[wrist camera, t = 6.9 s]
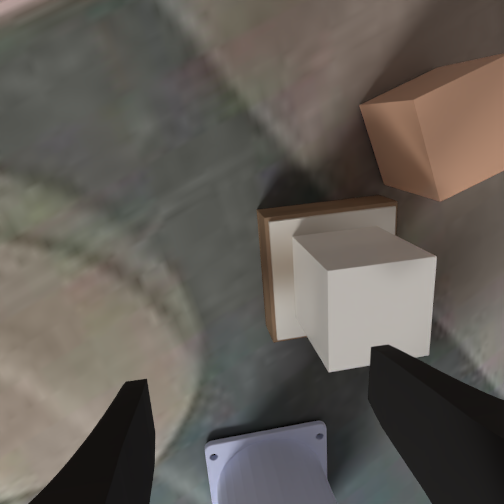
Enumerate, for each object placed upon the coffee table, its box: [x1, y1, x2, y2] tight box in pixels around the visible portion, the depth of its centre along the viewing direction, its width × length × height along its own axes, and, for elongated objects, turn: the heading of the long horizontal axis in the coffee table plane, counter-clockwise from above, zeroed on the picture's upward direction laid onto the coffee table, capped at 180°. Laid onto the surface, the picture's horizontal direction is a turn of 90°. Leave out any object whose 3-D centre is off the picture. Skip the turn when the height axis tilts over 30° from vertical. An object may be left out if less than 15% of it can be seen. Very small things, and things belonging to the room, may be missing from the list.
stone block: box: [292, 226, 437, 372], centre depth 18 cm, size 4×4×5 cm
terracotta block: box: [359, 53, 504, 202], centre depth 19 cm, size 4×4×5 cm
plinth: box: [257, 195, 398, 342], centre depth 22 cm, size 7×7×2 cm
